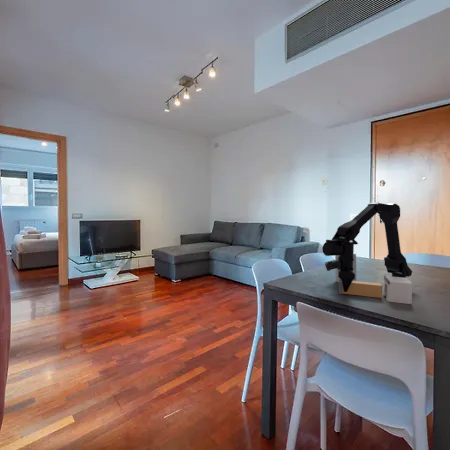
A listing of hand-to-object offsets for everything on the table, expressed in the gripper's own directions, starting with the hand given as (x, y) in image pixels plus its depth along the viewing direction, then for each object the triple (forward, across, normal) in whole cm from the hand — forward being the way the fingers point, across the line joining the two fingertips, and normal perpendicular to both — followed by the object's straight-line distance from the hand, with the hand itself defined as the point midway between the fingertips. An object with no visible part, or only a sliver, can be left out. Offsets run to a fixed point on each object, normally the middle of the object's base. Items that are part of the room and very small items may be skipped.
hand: (345, 290), depth 118 cm
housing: (+1, 0, +19) cm, 19 cm away
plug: (+1, 0, +6) cm, 6 cm away
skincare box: (+2, -19, +1) cm, 19 cm away
